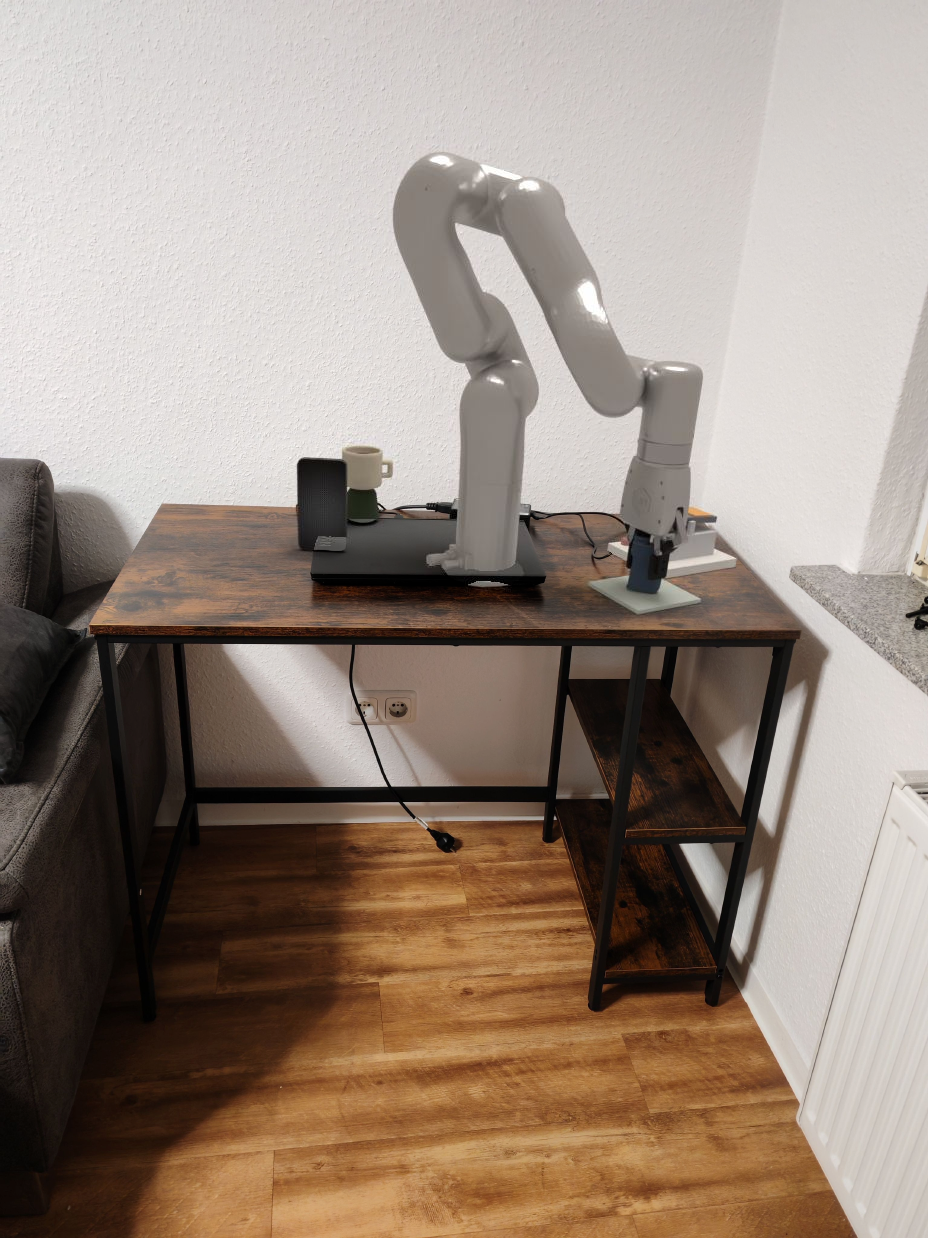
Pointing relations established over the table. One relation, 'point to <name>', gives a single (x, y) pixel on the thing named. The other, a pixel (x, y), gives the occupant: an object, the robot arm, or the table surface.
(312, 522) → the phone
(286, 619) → the table surface
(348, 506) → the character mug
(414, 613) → the table surface
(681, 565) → the white rocker switch base
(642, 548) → the vaping device
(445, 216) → the robot arm
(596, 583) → the mat
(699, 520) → the plate
